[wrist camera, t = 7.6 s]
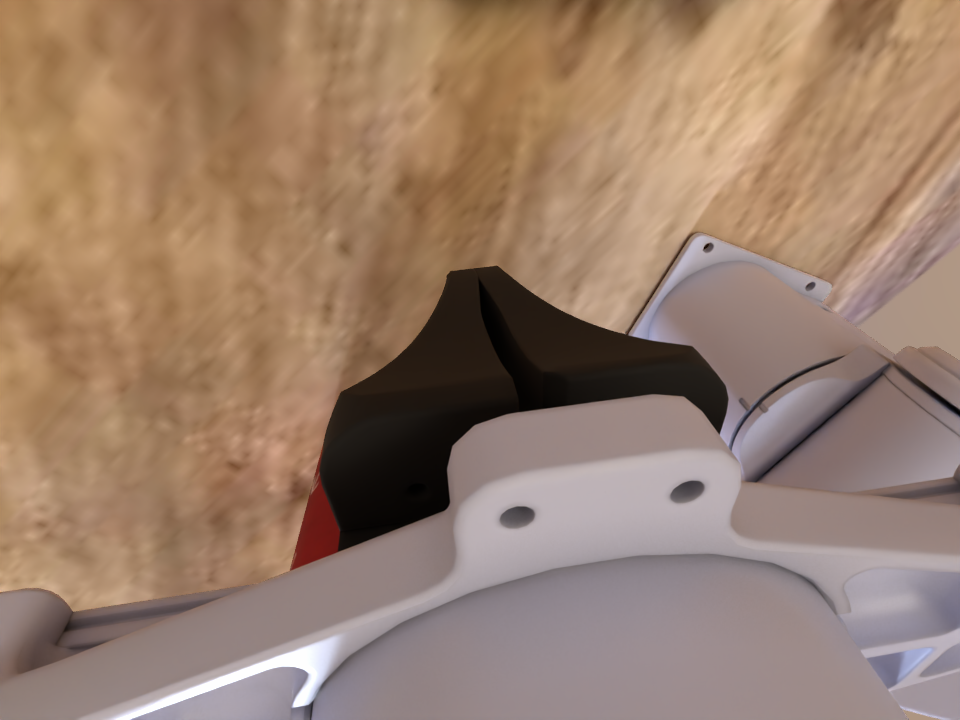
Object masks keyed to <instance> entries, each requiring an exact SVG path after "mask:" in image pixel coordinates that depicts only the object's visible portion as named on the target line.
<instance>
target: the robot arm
mask: <svg viewBox="0 0 960 720" xmlns="http://www.w3.org/2000/svg"><path fill="white" fill-rule="evenodd" d="M708 243H710V244H709V247H708V248H707V249H704V250H703V248H704V246H705V245H706V244H708ZM809 283H810V284H809ZM808 284H809V285H808ZM807 285H808V286H807ZM806 286H807V287H806ZM831 290H832V285H831V284H830V283H829V282H827V281H825V280H823V279H820V278H818V277H815V276H813V275H810V274H807V273H805V272H802V271H800V270H797V269H795V268H792V267H789V266H787V265H784V264H782V263H779V262H777V261H774V260H771V259H769V258H766V257H764V256H761V255H759V254H756V253H753V252H751V251H748V250H746V249H743V248H741V247H738V246H735V245H733V244H730V243H728V242H725V241H723V240H720V239H717V238H715V237H712V236H710V235H707V234H705V233H700V232H699V233H696V234H694V235H692V236H691V237H690V239H689V240H688V242H687V243H686V245H685V246H684V248H683V249H682V251H681V252H680V254H679V256H678V257H677V259H676V260H675V262H674V263H673V265H672V267H671V268H670V270H669V271H668V273H667V274H666V276H665V277H664V279H663V281H662V282H661V284H660V285H659V287H658V288H657V290H656V292H655V293H654V295H653V296H652V298H651V299H650V301H649V302H648V304H647V306H646V307H645V309H644V310H643V312H642V313H641V315H640V317H639V318H638V320H637V321H636V323H635V324H634V326H633V327H632V329H631V331H630V332H629V334H628V335H625V334H621V333H618V332H614V331H611V330H608V329H605V328H602V327H599V326H596V325H593V324H590V323H588V322H585V321H582V320H580V319H578V318H576V317H574V316H572V315H569V314H567V313H565V312H563V311H561V310H559V309H557V308H556V307H554V306H552V305H550V304H549V303H547V302H545V301H544V300H542V299H541V298H539V297H538V296H536V295H535V294H533V293H532V292H530V291H529V290H527V289H526V288H525V287H523V286H522V285H521V284H519V283H518V282H517V281H516V280H514V279H513V278H512V277H510V276H509V275H508V274H507V273H506V272H504V271H503V270H502V269H501V268H499V267H498V266H492V267H483V268H475V269H466V270H457V271H450V272H449V274H448V275H447V279H446V284H445V287H444V290H443V293H442V295H441V297H440V299H439V302H438V304H437V306H436V308H435V310H434V312H433V313H432V315H431V317H430V318H429V320H428V322H427V323H426V325H425V326H424V328H423V329H422V331H421V332H420V333H419V335H418V336H417V337H416V338H415V339H414V341H413V342H412V343H411V344H410V345H409V346H408V347H407V348H406V349H405V350H404V351H403V352H402V353H401V354H400V355H399V356H398V357H397V358H395V359H394V360H393V361H392V362H390V363H389V364H388V365H386V366H385V367H384V368H382V369H381V370H379V371H378V372H376V373H375V374H373V375H372V376H370V377H368V378H367V379H365V380H363V381H361V382H359V383H358V384H356V385H354V386H352V387H350V388H348V389H346V390H344V391H342V392H341V393H340V395H339V398H338V400H337V402H336V405H335V408H334V410H333V413H332V416H331V418H330V421H329V424H328V427H327V430H326V434H325V438H324V443H323V449H322V456H321V462H320V468H319V473H320V478H321V484H322V487H323V490H324V492H325V495H326V497H327V500H328V502H329V505H330V507H331V510H332V512H333V515H334V517H335V520H336V522H337V525H338V528H339V530H340V535H339V544H338V552H337V553H335V554H332V555H330V556H327V557H324V558H322V559H319V560H317V561H314V562H312V563H309V564H306V565H304V566H301V567H299V568H296V569H294V570H291V571H288V572H286V573H283V574H281V575H278V576H276V577H273V578H270V579H268V580H265V581H263V582H260V583H258V584H252V585H245V586H239V587H232V588H226V589H219V590H212V591H206V592H199V593H193V594H186V595H180V596H173V597H167V598H160V599H154V600H147V601H141V602H134V603H128V604H121V605H115V606H108V607H102V608H95V609H89V610H82V611H76V612H73V611H72V610H71V608H70V607H69V606H68V604H67V603H66V602H65V601H64V600H63V599H62V598H61V597H60V596H59V595H57V594H55V593H53V592H51V591H48V590H44V589H39V588H26V589H19V590H13V591H6V592H0V720H909V719H908V718H907V716H906V715H905V713H904V712H903V710H902V709H904V710H907V711H911V712H915V713H919V714H922V715H926V716H929V717H934V718H937V719H942V720H960V361H959V360H958V359H956V358H955V357H953V356H951V355H950V354H948V353H947V352H945V351H944V350H942V349H940V348H939V347H920V348H918V349H916V348H914V347H910V346H909V347H905V348H903V349H902V350H901V351H900V352H899V353H897V354H896V355H895V354H893V353H892V352H891V351H889V350H888V349H886V348H885V347H884V346H882V345H881V344H879V343H878V342H877V341H875V340H874V339H872V338H871V337H869V336H868V335H867V334H865V333H864V332H863V331H861V330H860V329H858V328H857V327H856V326H854V325H853V324H851V323H850V322H849V321H847V320H846V319H844V318H843V317H842V316H840V315H839V314H837V313H836V312H835V311H833V310H832V309H830V308H829V307H828V306H826V305H825V304H823V303H822V302H823V301H824V300H825V298H826V297H827V296H828V295H829V294H830V292H831Z"/></svg>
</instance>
